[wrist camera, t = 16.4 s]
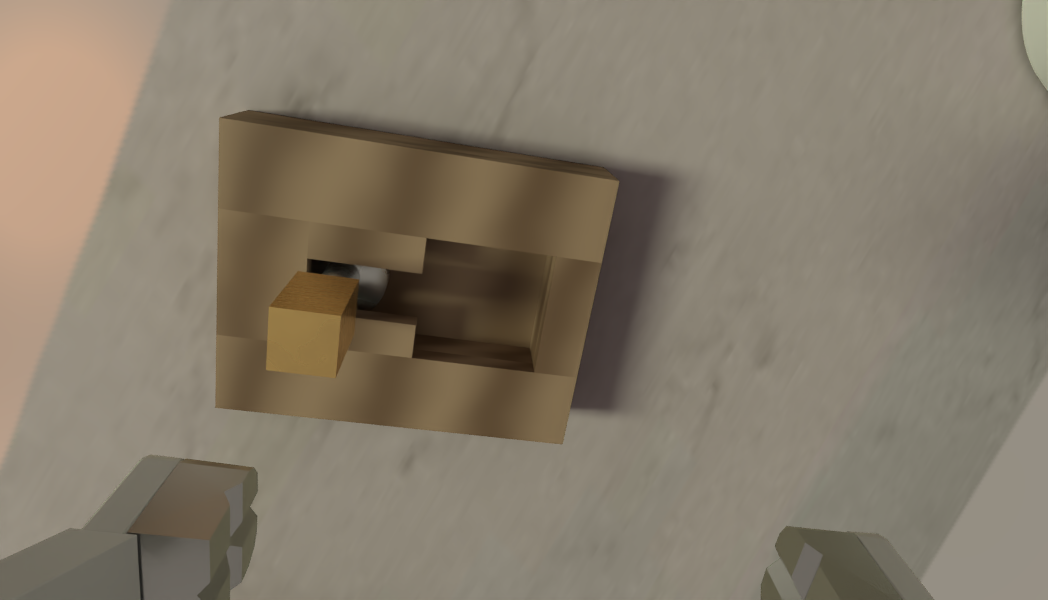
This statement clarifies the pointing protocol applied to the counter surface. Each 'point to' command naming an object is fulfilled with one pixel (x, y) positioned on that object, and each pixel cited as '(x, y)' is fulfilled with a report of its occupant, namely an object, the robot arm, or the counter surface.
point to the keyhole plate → (411, 274)
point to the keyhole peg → (320, 316)
